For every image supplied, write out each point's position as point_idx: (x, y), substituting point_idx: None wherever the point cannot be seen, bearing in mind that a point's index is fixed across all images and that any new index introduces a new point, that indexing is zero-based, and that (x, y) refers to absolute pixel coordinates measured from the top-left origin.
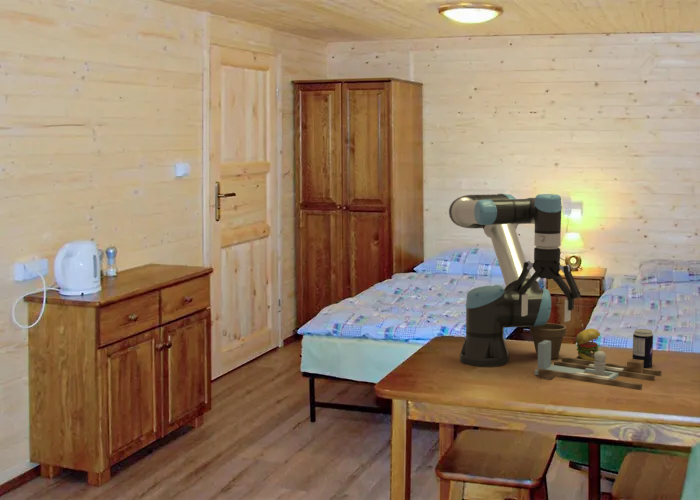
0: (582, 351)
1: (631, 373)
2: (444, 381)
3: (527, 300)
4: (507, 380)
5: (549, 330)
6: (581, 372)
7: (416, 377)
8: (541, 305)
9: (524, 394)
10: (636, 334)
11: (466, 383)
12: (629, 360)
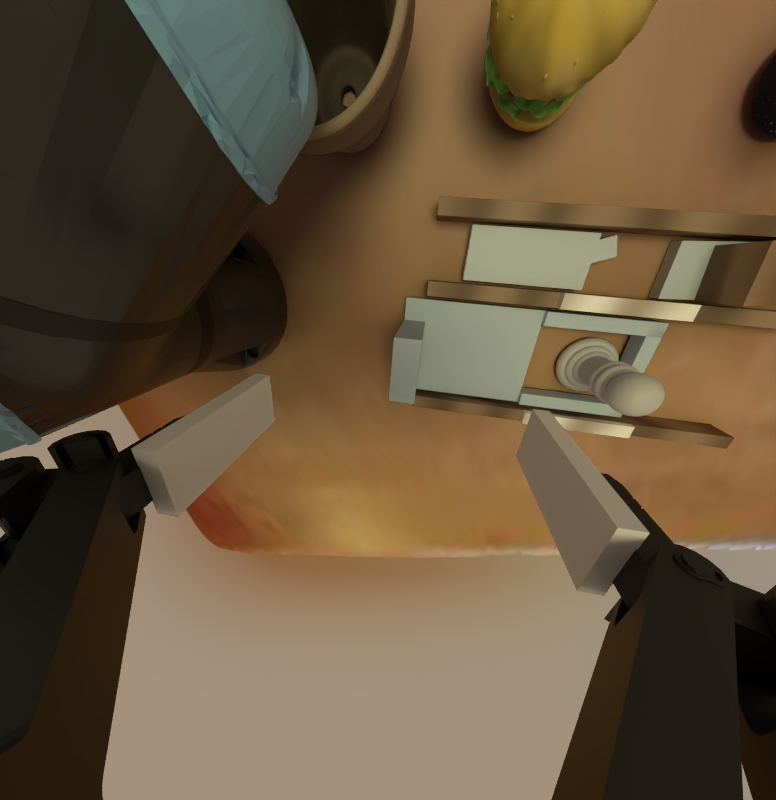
0: (520, 110)
1: (721, 322)
2: (263, 490)
3: (206, 425)
4: (359, 443)
5: (347, 125)
6: (531, 348)
7: None
8: (234, 149)
9: (427, 514)
10: None
11: (302, 488)
12: (762, 277)
